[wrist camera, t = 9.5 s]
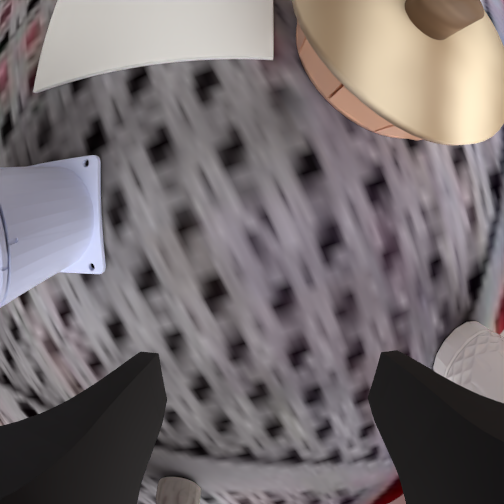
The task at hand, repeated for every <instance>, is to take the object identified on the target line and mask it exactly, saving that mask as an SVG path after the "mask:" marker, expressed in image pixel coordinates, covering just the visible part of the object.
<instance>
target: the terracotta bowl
mask: <svg viewBox="0 0 504 504" xmlns="http://www.w3.org/2000/svg"><path fill="white" fill-rule="evenodd" d="M296 45H297V50H298V54H299V58H300V60H301V63H302V65H303V68H304V70H305V72H306V73H307V75H308V77H309V79H310V80H311V82H312V83H313V84H314V86H315V87H316V89H317V90H318V91H319V92H320V94H321V95H322V96H323V97H324V98H325V99H326V100H327V101H328V102H329V103H330V104H331V105H332V106H333V107H334V108H335V109H336V110H337V111H339V112H340V113H341V114H342V115H344V116H345V117H346V118H348V119H349V120H351V121H352V122H354V123H355V124H357V125H359V126H361V127H363V128H365V129H367V130H369V131H371V132H374V133H377V134H379V135H383V136H387V137H391V138H399V139H413V140H423V139H421V138H418V137H416V136H413V135H411V134H409V133H407V132H405V131H403V130H401V129H399V128H397V127H396V126H394V125H392V124H391V123H389V122H388V121H386V120H385V119H383V118H382V117H380V116H379V115H377V114H376V113H375V112H374V111H372V110H371V109H370V108H368V107H367V106H366V105H364V104H363V103H362V102H361V101H360V100H359V99H358V98H356V97H355V96H354V95H353V94H352V93H351V92H350V91H349V90H347V89H346V88H345V87H344V85H343V84H342V83H341V82H340V81H339V80H338V79H337V78H336V77H335V76H334V75H333V74H332V73H331V72H330V70H329V69H328V68H327V67H326V66H325V64H324V63H323V62H322V61H321V60H320V58H319V57H318V55H317V54H316V52H315V51H314V50H313V48H312V47H311V45H310V44H309V42H308V40H307V39H306V37H305V35H304V33H303V31H302V29H301V28H300V25H299V23H298V20H297V26H296Z"/></svg>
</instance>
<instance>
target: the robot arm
mask: <svg viewBox="0 0 504 504" xmlns="http://www.w3.org/2000/svg"><path fill="white" fill-rule="evenodd" d="M87 160H88V161H89V165H88V166H86V161H87ZM91 263H92V264H93V265H94V266H95V269H93V268H92V266H91ZM105 269H106V263H105V254H104V243H103V230H102V214H101V161H100V158H99V157H98V156H97V155H89V156H82V157H75V158H69V159H63V160H57V161H52V162H46V163H41V164H36V165H31V166H27V167H0V308H1V307H3V306H4V305H6V304H7V303H9V302H10V301H12V300H13V299H15V298H17V297H18V296H20V295H21V294H23V293H25V292H26V291H28V290H29V289H31V288H33V287H34V286H36V285H38V284H39V283H41V282H43V281H44V280H46V279H48V278H50V277H51V276H53V275H55V274H56V273H58V272H68V273H87V274H101V273H103V272H104V271H105ZM368 400H369V404H370V407H371V411H372V414H373V417H374V421H375V423H376V425H377V428H378V430H379V432H380V434H381V436H382V439H383V441H384V443H385V445H386V447H387V450H388V452H389V454H390V456H391V458H392V461H393V463H394V465H395V467H396V470H397V473H398V475H399V478H400V481H401V485H402V489H403V493H404V496H405V501H406V504H504V403H501V402H498V401H495V400H493V399H490V398H487V397H485V396H482V395H479V394H477V393H475V392H472V391H470V390H468V389H466V388H464V387H462V386H460V385H458V384H456V383H454V382H452V381H451V380H449V379H447V378H445V377H443V376H441V375H440V374H438V373H436V372H434V371H433V370H431V369H429V368H428V367H426V366H424V365H423V364H421V363H419V362H417V361H416V360H414V359H412V358H410V357H409V356H407V355H405V354H403V353H401V352H399V351H389V352H381V355H380V359H379V363H378V366H377V370H376V373H375V376H374V380H373V383H372V386H371V389H370V393H369V396H368ZM166 403H167V397H166V393H165V388H164V382H163V377H162V372H161V366H160V360H159V354H158V353H148V352H140V353H138V354H136V355H135V356H134V357H132V358H131V359H129V360H128V361H127V362H125V363H124V364H122V365H121V366H120V367H118V368H117V369H116V370H114V371H113V372H111V373H110V374H109V375H107V376H106V377H104V378H103V379H101V380H100V381H99V382H97V383H96V384H94V385H92V386H91V387H89V388H88V389H86V390H84V391H83V392H81V393H80V394H78V395H76V396H75V397H73V398H71V399H70V400H68V401H66V402H64V403H62V404H60V405H58V406H56V407H54V408H52V409H50V410H47V411H45V412H43V413H40V414H38V415H35V416H32V417H29V418H26V419H24V420H21V421H18V422H15V423H11V424H7V425H3V426H0V504H137V500H138V495H139V490H140V486H141V482H142V479H143V476H144V473H145V470H146V467H147V464H148V462H149V459H150V456H151V453H152V451H153V448H154V445H155V442H156V440H157V437H158V434H159V431H160V428H161V426H162V422H163V417H164V413H165V408H166Z"/></svg>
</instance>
